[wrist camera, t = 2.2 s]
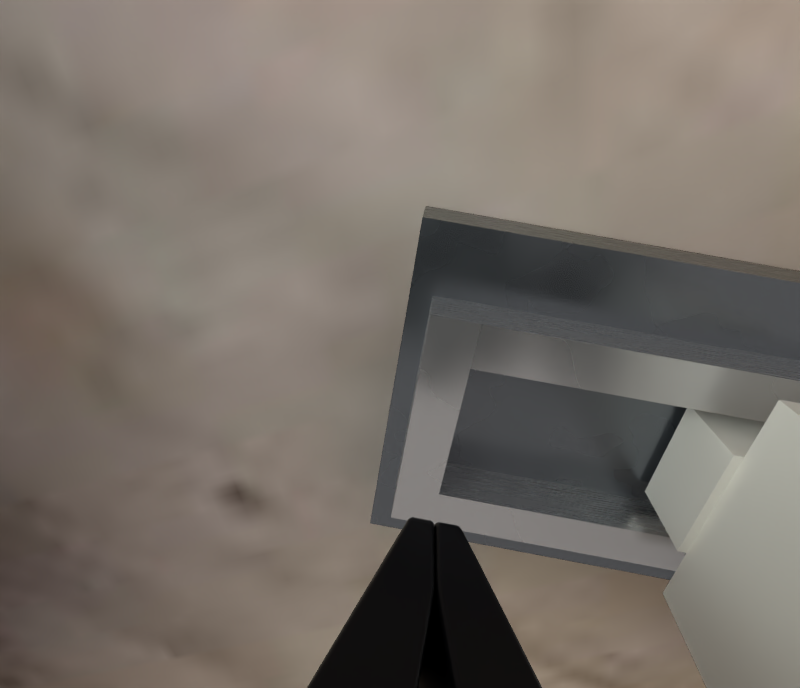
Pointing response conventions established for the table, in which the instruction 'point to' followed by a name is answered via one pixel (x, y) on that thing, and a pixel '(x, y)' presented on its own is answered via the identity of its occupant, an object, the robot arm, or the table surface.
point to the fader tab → (735, 544)
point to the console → (570, 382)
